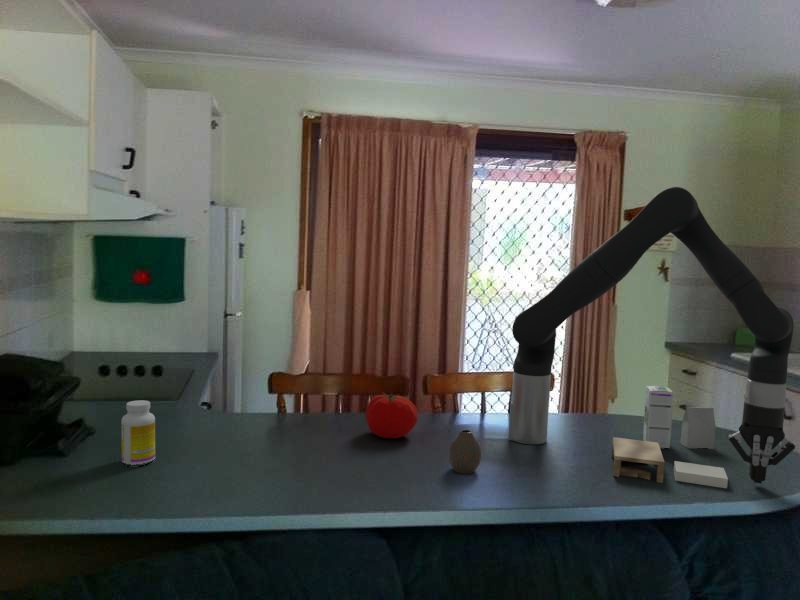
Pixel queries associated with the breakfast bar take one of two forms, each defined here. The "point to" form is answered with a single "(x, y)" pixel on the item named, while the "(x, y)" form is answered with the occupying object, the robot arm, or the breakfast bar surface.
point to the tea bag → (698, 428)
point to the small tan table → (637, 457)
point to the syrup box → (658, 415)
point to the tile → (700, 474)
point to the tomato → (391, 416)
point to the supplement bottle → (138, 433)
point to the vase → (465, 453)
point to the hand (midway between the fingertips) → (756, 481)
